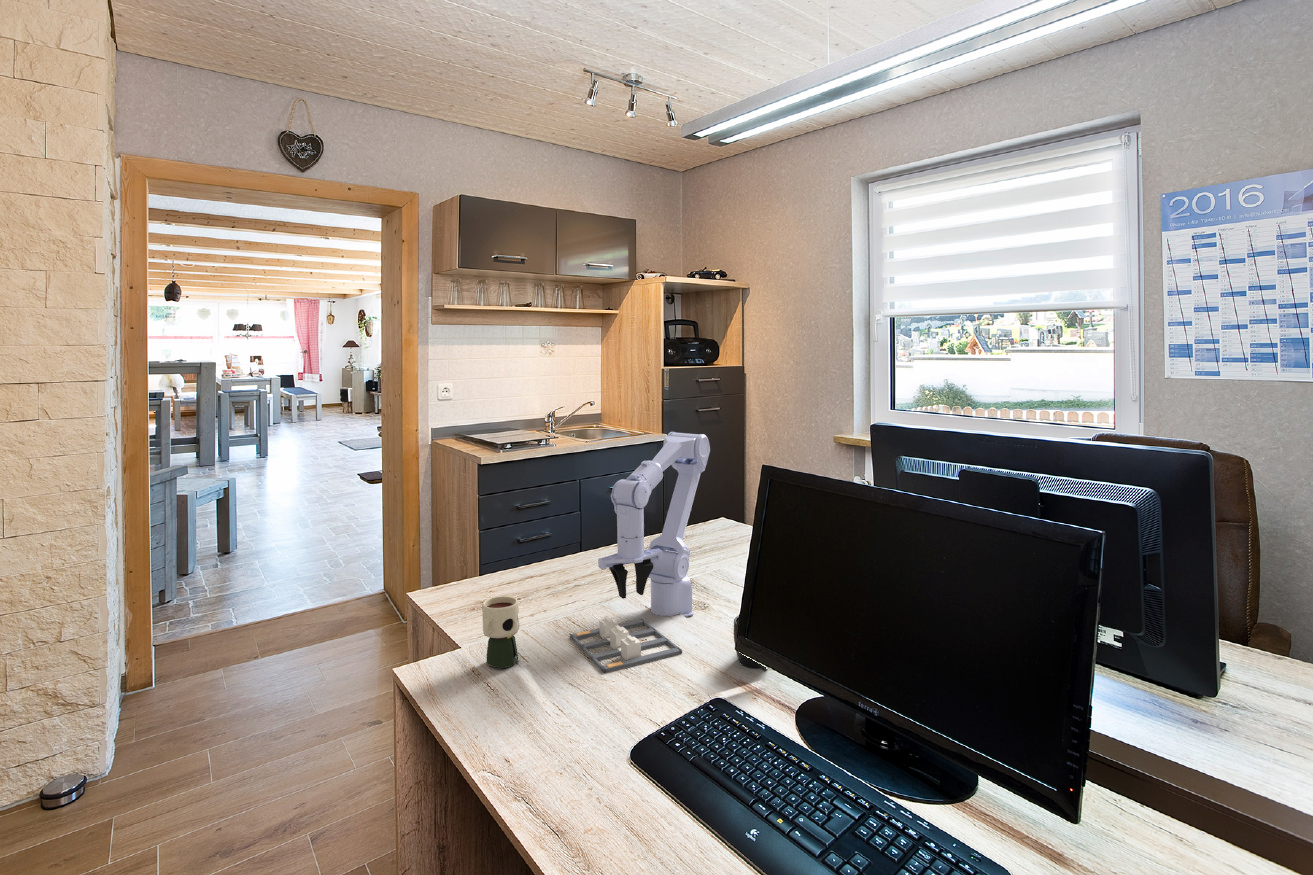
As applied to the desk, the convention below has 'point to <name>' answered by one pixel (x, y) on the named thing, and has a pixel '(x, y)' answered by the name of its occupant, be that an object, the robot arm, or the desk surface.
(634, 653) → the tab
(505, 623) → the character mug
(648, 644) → the switch bank
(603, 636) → the tab
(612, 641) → the tab
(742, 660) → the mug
